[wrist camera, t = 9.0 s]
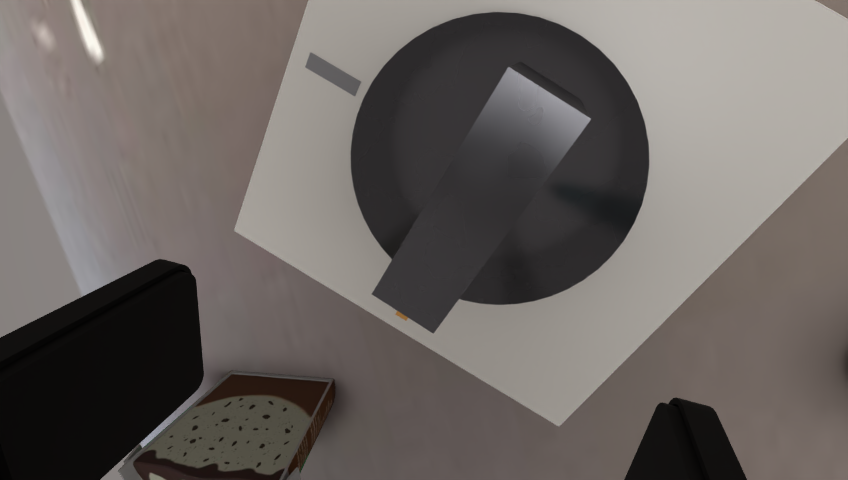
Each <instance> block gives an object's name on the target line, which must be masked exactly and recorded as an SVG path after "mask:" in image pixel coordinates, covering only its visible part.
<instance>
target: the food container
mask: <svg viewBox="0 0 848 480" xmlns="http://www.w3.org/2000/svg"><path fill="white" fill-rule="evenodd" d="M334 398H335V382H334V379H329V378H317V377H305V376H292V375H280V374H267V373H255V372H242V371H230V372H229V373H228V374H227V375H226V376H225V377H224V378H222V379H221V380H220V381H219V382H218V383H217V384H215V385H214V386H213V387H212V388H211V389H210V390H209V391H207V392H206V393H205V394H204V395H203V396H202V397H201V398H199V399H198V400H197V401H196V402H195V403H194V404H193V405H191V406H190V407H189V408H188V409H187V410H186V411H185V412H183V413H182V414H181V415H180V416H179V417H178V418H177V419H175V420H174V421H173V422H172V423H171V424H170V425H168V426H167V427H166V428H165V429H164V430H163V431H162V432H160V433H159V434H158V435H157V436H156V437H155V438H154V439H152V440H151V441H150V442H149V443H148V444H147V445H146V446H144V447H143V448H142V447H141V445H140V444H138V445H137V446H136V447H135V448H134V450H133V451H132V452H131V453H130V454H129V456H128V457H127V458H126V459H125V461H124V465H123V466H122V467H121V468H120V469H119V470H118V472H119V473H120V475H121V477H122V479H123V480H301V477H300V472H301V470H302V468H303V466H304V464H305V462H306V459H307V457H308V455H309V453H310V451H311V449H312V447H313V445H314V443H315V441H316V438H317V436H318V434H319V432H320V430H321V428H322V426H323V424H324V422H325V420H326V418H327V415H328V413H329V411H330V409H331V407H332V405H333V403H334Z"/></svg>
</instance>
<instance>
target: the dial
mask: <svg viewBox="0 0 848 480" xmlns="http://www.w3.org/2000/svg"><path fill="white" fill-rule="evenodd" d="M648 173H649V142H648V137H647V131H646V126H645V121H644V118H643V116H642V113H641V110H640V107H639V104H638V101H637V99H636V97H635V96H634V94H633V92H632V90H631V88H630V86H629V84H628V82H627V81H626V79H625V78H624V77H623V75H622V74H621V73H620V71H619V70H618V69H617V67H616V66H615V64H614V63H613V62H612V61H611V60H610V59H609V58H608V57H607V56H606V55H605V54H604V53H603V52H602V51H601V50H600V49H599V48H597V47H596V46H595V45H593V44H592V43H590V42H589V41H588V40H586V39H585V38H584V37H582V36H581V35H579V34H577V33H576V32H574V31H572V30H570V29H568V28H566V27H564V26H562V25H560V24H558V23H555V22H552V21H549V20H546V19H543V18H540V17H536V16H531V15H526V14H520V13H508V12H489V13H480V14H472V15H468V16H464V17H460V18H456V19H452V20H449V21H447V22H445V23H442V24H440V25H437V26H435V27H432V28H431V29H429V30H427V31H426V32H424V33H422V34H420V35H419V36H417V37H415V38H414V39H412V40H411V41H410V42H409V43H407V44H406V45H405V46H404V47H402V48H401V49H400V50H399V51H397V53H396V54H395V55H394V56H393V57H392V58H391V59H390V60H389V61H388V62H387V63H386V64H385V65H384V66H383V68H382V69H381V70H380V72H379V73H378V75H377V76H376V77H375V79H374V80H373V82H372V83H371V85H370V87H369V89H368V91H367V93H366V94H365V96H364V98H363V101H362V103H361V106H360V109H359V111H358V114H357V117H356V121H355V125H354V129H353V134H352V143H351V174H352V181H353V187H354V191H355V195H356V199H357V202H358V205H359V208H360V210H361V213H362V215H363V218H364V220H365V222H366V224H367V226H368V227H369V229H370V231H371V233H372V235H373V236H374V237H375V239H376V240H377V242H378V243H379V245H380V246H381V248H382V249H383V250H384V251H385V252H386V253H387V254H388V255H389V257H390V258H391V259H392V261H391V263H390V264H389V266H388V268H387V269H386V271H385V273H384V274H383V276H382V278H381V279H380V281H379V283H378V284H377V286H376V287H375V289H374V291H373V292H372V295H374V296H375V297H377V298H378V299H380V300H381V301H383V302H384V303H386V304H388V305H389V306H391V307H392V308H394V309H395V310H397V311H399V312H400V313H402V314H403V315H405V316H406V317H408V318H409V319H411V320H413V321H414V322H416V323H417V324H419V325H420V326H422V327H423V328H425V329H427V330H428V331H430V332H431V333H433V334H434V332H435V331H436V330H437V328H438V327H439V326H440V324H441V323H442V322H443V320H444V319H445V317H446V316H447V315H448V313H449V312H450V311H451V309H452V308H453V307H454V305H455V304H456V302H457V301H458V300H459V299H461V300H464V301H469V302H474V303H480V304H492V305H508V304H520V303H526V302H532V301H536V300H540V299H543V298H547V297H550V296H553V295H555V294H558V293H560V292H562V291H565V290H567V289H569V288H571V287H572V286H574V285H576V284H578V283H579V282H581V281H583V280H584V279H586V278H587V277H588V276H590V275H591V274H592V273H594V272H595V271H596V270H598V269H599V268H600V267H601V266H602V265H603V264H604V263H605V262H606V261H607V260H608V259H609V258H610V257H611V256H612V255H613V254H614V253H615V251H616V250H617V249H618V248H619V246H620V245H621V244H622V243H623V241H624V240H625V238H626V236H627V235H628V233H629V231H630V230H631V228H632V226H633V225H634V223H635V220H636V218H637V216H638V213H639V211H640V208H641V206H642V203H643V199H644V195H645V191H646V187H647V182H648Z"/></svg>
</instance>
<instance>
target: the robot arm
mask: <svg viewBox="0 0 848 480" xmlns="http://www.w3.org/2000/svg"><path fill="white" fill-rule="evenodd" d="M203 376H204V371H203V359H202V347H201V335H200V323H199V310H198V298H197V286H196V279H195V277H194V276H193V275H192V273H191V270H190V269H189V267H187V266H185V265H182V264H178V263H175V262H171V261H167V260H162V259H159V260H155V261H153V262H151V263H149V264H147V265H145V266H143V267H141V268H139V269H137V270H135V271H133V272H131V273H129V274H127V275H125V276H123V277H121V278H119V279H117V280H115V281H113V282H111V283H109V284H107V285H105V286H103V287H101V288H99V289H97V290H95V291H93V292H91V293H89V294H87V295H85V296H83V297H81V298H79V299H77V300H75V301H73V302H71V303H69V304H67V305H65V306H63V307H61V308H59V309H57V310H55V311H53V312H51V313H49V314H47V315H45V316H43V317H41V318H39V319H37V320H35V321H33V322H31V323H29V324H27V325H25V326H23V327H21V328H19V329H17V330H15V331H13V332H11V333H9V334H7V335H5V336H3V337H1V338H0V480H100V479H101V478H102V477H103V476H104V475H106V474H107V473H108V472H109V471H110V470H111V469H112V468H113V467H114V466H115V465H116V464H118V463H119V462H120V461H121V460H122V459H123V458H124V457H125V456H126V455H127V454H128V453H129V452H131V451H132V449H134V448H135V447H136V446H137V445H138V444H139V443H140V442H141V441H142V440H144V439H145V438H146V437H147V436H148V435H149V434H150V433H151V432H152V431H153V430H154V429H156V428H157V427H158V426H159V425H160V424H161V423H162V422H163V421H164V420H165V419H166V418H167V417H169V416H170V415H171V414H172V413H173V412H174V411H175V410H176V409H177V408H178V407H179V406H180V405H182V404H183V403H184V402H185V401H186V400H187V399H188V398H189V397H190V396H191V395H192V394H194V393H195V392H196V390H197V389H198V388H199V386H200V385H201V383H202V380H203ZM625 480H747V479H746V476H745V474H744V472H743V470H742V468H741V466H740V463H739V461H738V459H737V457H736V455H735V453H734V450H733V448H732V446H731V444H730V442H729V440H728V437H727V435H726V433H725V431H724V429H723V427H722V424H721V422H720V420H719V418H718V416H717V414H716V412H715V410H714V409H713V408H711V407H709V406H706V405H702V404H698V403H695V402H691V401H687V400H683V399H680V398H673V399H672V400H671V401H670V402H669V404H666V403H660V404H658V406H657V407H656V409H655V412H654V414H653V416H652V418H651V421H650V423H649V425H648V427H647V430H646V432H645V434H644V436H643V439H642V441H641V443H640V446H639V448H638V450H637V452H636V455H635V457H634V459H633V461H632V464H631V466H630V468H629V470H628V473H627V475H626V477H625Z"/></svg>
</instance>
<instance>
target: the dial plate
mask: <svg viewBox="0 0 848 480" xmlns="http://www.w3.org/2000/svg"><path fill="white" fill-rule="evenodd" d="M489 12H508V13H520V14H526V15H531V16H536V17H540V18H543V19H546V20H549V21H552V22H555V23H558V24H560V25H562V26H564V27H566V28H568V29H570V30H572V31H574V32H576V33H577V34H579V35H581V36H582V37H584V38H585V39H586V40H588V41H589V42H590V43H592V44H593V45H595V46H596V47H597V48H599V49H600V50H601V51H602V52H603V53H604V54H605V55H606V56H607V57H608V58H609V59H610V60H611V61H612V62H613V63H614V64H615V66H616V67H617V69H618V70H619V71H620V73H621V74H622V75H623V77H624V78H625V79H626V81H627V82H628V84H629V86H630V88H631V90H632V92H633V94H634V96H635V97H636V99H637V101H638V104H639V107H640V110H641V113H642V116H643V118H644V121H645V126H646V131H647V137H648V142H649V173H648V182H647V187H646V191H645V195H644V199H643V203H642V206H641V208H640V211H639V213H638V216H637V218H636V220H635V223H634V225H633V226H632V228H631V230H630V231H629V233H628V235H627V236H626V238H625V240H624V241H623V243H622V244H621V245H620V246H619V248H618V249H617V250H616V251H615V253H614V254H613V255H612V256H611V257H610V258H609V259H608V260H607V261H606V262H605V263H604V264H603V265H602V266H601V267H600V268H599V269H598V270H596V271H595V272H594V273H592V274H591V275H590V276H588V277H587V278H586V279H584V280H583V281H581V282H579V283H578V284H576V285H574V286H572V287H571V288H569V289H567V290H565V291H562V292H560V293H558V294H555V295H553V296H550V297H547V298H543V299H540V300H536V301H532V302H526V303H520V304H508V305H492V304H480V303H474V302H469V301H464V300H461V299H459V300H458V301H457V302H456V304H455V305H454V307H453V308H452V309H451V311H450V312H449V313H448V315H447V316H446V317H445V319H444V320H443V322H442V323H441V324H440V326H439V327H438V328H437V330H436V331H435V332H434V334H433V333H431V332H430V331H428V330H427V329H425V328H423V327H422V326H420V325H419V324H417V323H416V322H414V321H413V320H411V319H409V318H408V317H406V316H405V315H403V314H402V313H400V312H399V311H397V310H395V309H394V308H392V307H391V306H389V305H388V304H386V303H384V302H383V301H381V300H380V299H378V298H377V297H375V296H374V295H372V292H373V291H374V289H375V287H376V286H377V284H378V283H379V281H380V279H381V278H382V276H383V274H384V273H385V271H386V269H387V268H388V266H389V264H390V263H391V261H392V259H391V258H390V257H389V255H388V254H387V253H386V252H385V251H384V250H383V249H382V248H381V246H380V245H379V243H378V242H377V240H376V239H375V237H374V236H373V235H372V233H371V231H370V229H369V227H368V226H367V224H366V222H365V220H364V218H363V215H362V213H361V210H360V208H359V205H358V202H357V199H356V195H355V191H354V187H353V181H352V174H351V143H352V134H353V129H354V125H355V121H356V117H357V114H358V111H359V109H360V106H361V103H362V101H363V98H364V96H365V94H366V93H367V91H368V89H369V87H370V85H371V83H372V82H373V80H374V79H375V77H376V76H377V75H378V73H379V72H380V70H381V69H382V68H383V66H384V65H385V64H386V63H387V62H388V61H389V60H390V59H391V58H392V57H393V56H394V55H395V54H396V53H397V51H399V50H400V49H401V48H402V47H404V46H405V45H406V44H407V43H409V42H410V41H411V40H412V39H414V38H415V37H417V36H419V35H420V34H422V33H424V32H426V31H427V30H429V29H431V28H432V27H435V26H437V25H440V24H442V23H445V22H447V21H449V20H452V19H456V18H460V17H464V16H468V15H472V14H480V13H489ZM847 138H848V19H847V18H845V17H844V16H842V15H840V14H838V13H837V12H835V11H833V10H831V9H829V8H828V7H826V6H824V5H822V4H821V3H819V2H817V1H815V0H308V3H307V6H306V9H305V12H304V16H303V19H302V22H301V25H300V28H299V31H298V34H297V37H296V40H295V43H294V47H293V50H292V53H291V56H290V59H289V62H288V65H287V68H286V71H285V74H284V78H283V81H282V84H281V87H280V90H279V93H278V96H277V99H276V102H275V105H274V109H273V112H272V115H271V118H270V121H269V124H268V127H267V130H266V133H265V136H264V139H263V143H262V146H261V149H260V152H259V155H258V158H257V161H256V164H255V167H254V170H253V174H252V177H251V180H250V183H249V186H248V189H247V192H246V195H245V198H244V201H243V205H242V208H241V211H240V214H239V217H238V220H237V223H236V226H235V229H234V231H235V232H237V233H239V234H240V235H242V236H244V237H245V238H247V239H249V240H250V241H252V242H254V243H255V244H257V245H259V246H260V247H262V248H264V249H265V250H267V251H268V252H270V253H272V254H273V255H275V256H277V257H278V258H280V259H282V260H283V261H285V262H287V263H288V264H290V265H292V266H293V267H295V268H297V269H298V270H300V271H302V272H303V273H305V274H307V275H308V276H310V277H312V278H313V279H315V280H317V281H318V282H320V283H322V284H323V285H325V286H327V287H328V288H330V289H332V290H333V291H335V292H336V293H338V294H340V295H341V296H343V297H345V298H346V299H348V300H350V301H351V302H353V303H355V304H356V305H358V306H360V307H361V308H363V309H365V310H366V311H368V312H370V313H371V314H373V315H375V316H376V317H378V318H380V319H381V320H383V321H385V322H386V323H388V324H390V325H391V326H393V327H395V328H396V329H398V330H399V331H401V332H403V333H404V334H406V335H408V336H409V337H411V338H413V339H414V340H416V341H418V342H419V343H421V344H423V345H424V346H426V347H428V348H429V349H431V350H433V351H434V352H436V353H438V354H439V355H441V356H443V357H444V358H446V359H448V360H449V361H451V362H453V363H454V364H456V365H458V366H459V367H461V368H462V369H464V370H466V371H467V372H469V373H471V374H472V375H474V376H476V377H477V378H479V379H481V380H482V381H484V382H486V383H487V384H489V385H491V386H492V387H494V388H496V389H497V390H499V391H501V392H502V393H504V394H506V395H507V396H509V397H511V398H512V399H514V400H516V401H517V402H519V403H521V404H522V405H524V406H525V407H527V408H529V409H530V410H532V411H534V412H535V413H537V414H539V415H540V416H542V417H544V418H545V419H547V420H549V421H550V422H552V423H554V424H555V425H557V426H560V425H561V424H562V423H563V422H564V421H565V420H566V419H567V418H568V417H569V416H570V415H571V414H572V413H573V412H574V411H575V410H576V409H577V408H578V407H579V406H580V405H581V404H582V403H583V402H584V401H585V400H586V399H587V398H588V397H589V396H590V395H591V394H592V393H593V392H594V391H595V390H596V389H597V388H598V387H599V386H600V385H601V384H602V383H603V382H604V381H605V380H606V379H607V378H608V377H609V376H610V375H611V374H612V373H613V372H614V371H615V370H616V369H617V368H618V367H619V366H620V365H621V364H622V363H623V362H624V361H625V360H626V359H627V358H628V357H629V356H630V355H631V354H632V353H633V352H634V351H635V350H636V349H637V348H638V347H639V346H640V345H641V344H642V343H643V342H644V341H645V340H646V339H647V338H648V337H649V336H650V335H651V334H652V333H653V332H654V331H655V330H656V329H657V328H658V327H659V326H660V325H661V324H662V323H663V322H664V321H665V320H666V319H667V318H668V317H669V316H670V315H671V314H672V313H673V312H674V311H675V310H676V309H677V308H678V307H679V306H680V305H681V304H682V303H683V302H684V301H685V300H686V299H687V298H688V297H689V296H690V295H691V294H692V293H693V292H694V291H695V290H696V289H697V288H698V287H699V286H700V285H701V284H702V283H703V282H704V281H705V280H706V279H707V278H708V277H709V276H710V275H711V274H712V273H713V272H714V271H715V270H716V269H717V268H718V267H719V266H720V265H721V264H722V263H723V262H724V261H725V260H726V259H727V258H728V257H729V256H730V255H731V254H732V253H733V252H734V251H735V250H736V249H737V248H738V247H739V246H740V245H741V244H742V243H743V242H744V241H745V240H746V239H747V238H748V237H749V236H750V235H751V234H752V233H753V232H754V231H755V230H756V229H757V228H758V227H759V226H760V225H761V224H762V223H763V222H764V221H765V220H766V219H767V218H768V217H769V216H770V215H771V214H772V213H773V212H774V211H775V210H776V209H777V208H778V207H779V206H780V205H781V204H782V203H783V202H784V201H785V200H786V199H787V198H788V197H789V196H790V195H791V194H792V193H793V192H794V191H795V190H796V189H797V188H798V187H799V186H800V185H801V184H802V183H803V182H804V181H805V180H806V179H807V178H808V177H809V176H810V175H811V174H812V173H813V172H814V171H815V170H816V169H817V168H818V167H819V166H820V165H821V164H822V163H823V162H824V161H825V160H826V159H827V158H828V157H829V156H830V155H831V154H832V153H833V152H834V151H835V150H836V149H837V148H838V147H839V146H840V145H841V144H842V143H843V142H844V141H845V140H846V139H847Z"/></svg>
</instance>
